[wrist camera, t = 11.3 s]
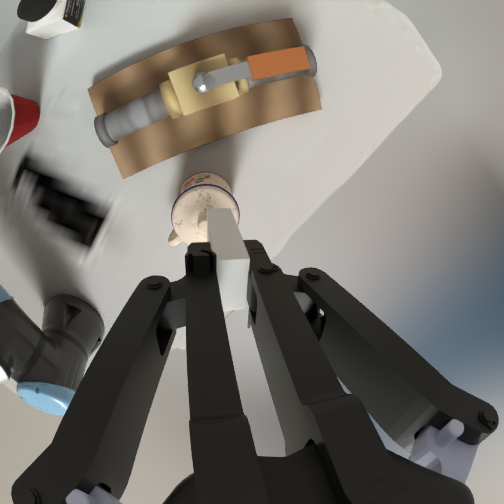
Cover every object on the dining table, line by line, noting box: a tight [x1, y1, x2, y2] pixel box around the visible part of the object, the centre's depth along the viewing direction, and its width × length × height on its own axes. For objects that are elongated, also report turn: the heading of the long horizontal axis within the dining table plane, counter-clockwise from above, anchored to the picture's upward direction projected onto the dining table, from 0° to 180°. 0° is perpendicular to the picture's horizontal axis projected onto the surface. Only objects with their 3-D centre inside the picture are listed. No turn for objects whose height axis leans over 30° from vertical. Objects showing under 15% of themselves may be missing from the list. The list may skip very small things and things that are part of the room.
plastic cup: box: [0, 87, 40, 153], centre depth 24 cm, size 11×11×12 cm
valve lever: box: [192, 46, 311, 93], centre depth 26 cm, size 14×3×2 cm, turn 106°
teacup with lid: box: [168, 173, 240, 246], centre depth 38 cm, size 12×9×12 cm
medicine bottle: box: [17, 0, 85, 39], centre depth 17 cm, size 7×7×12 cm
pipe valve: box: [88, 18, 322, 179], centre depth 31 cm, size 32×16×9 cm, turn 107°
